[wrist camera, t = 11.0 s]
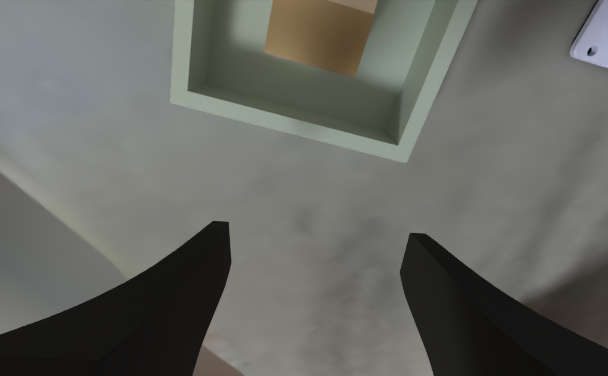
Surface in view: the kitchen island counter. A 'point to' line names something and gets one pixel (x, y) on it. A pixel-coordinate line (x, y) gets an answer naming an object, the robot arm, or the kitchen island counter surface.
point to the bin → (318, 73)
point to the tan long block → (321, 32)
